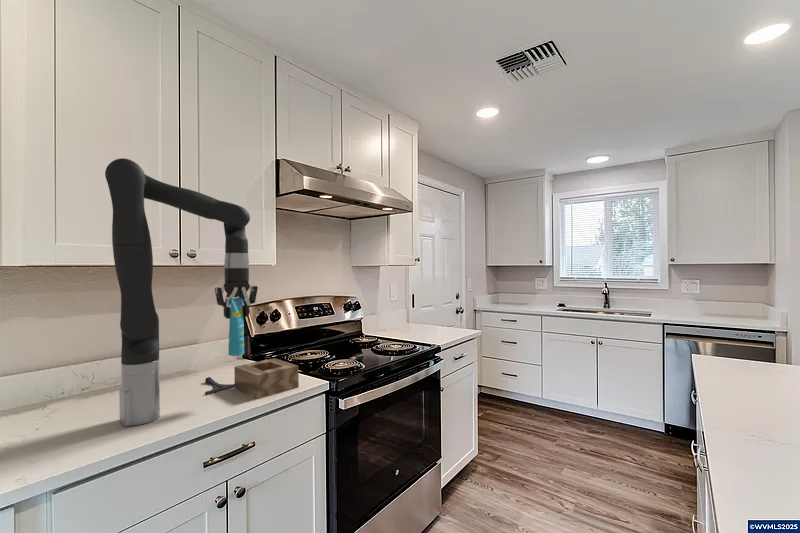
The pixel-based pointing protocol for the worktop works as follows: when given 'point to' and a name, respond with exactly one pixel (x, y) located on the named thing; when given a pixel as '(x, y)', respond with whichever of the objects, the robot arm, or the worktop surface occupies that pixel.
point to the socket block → (266, 377)
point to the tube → (236, 328)
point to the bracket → (217, 386)
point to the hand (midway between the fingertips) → (236, 317)
